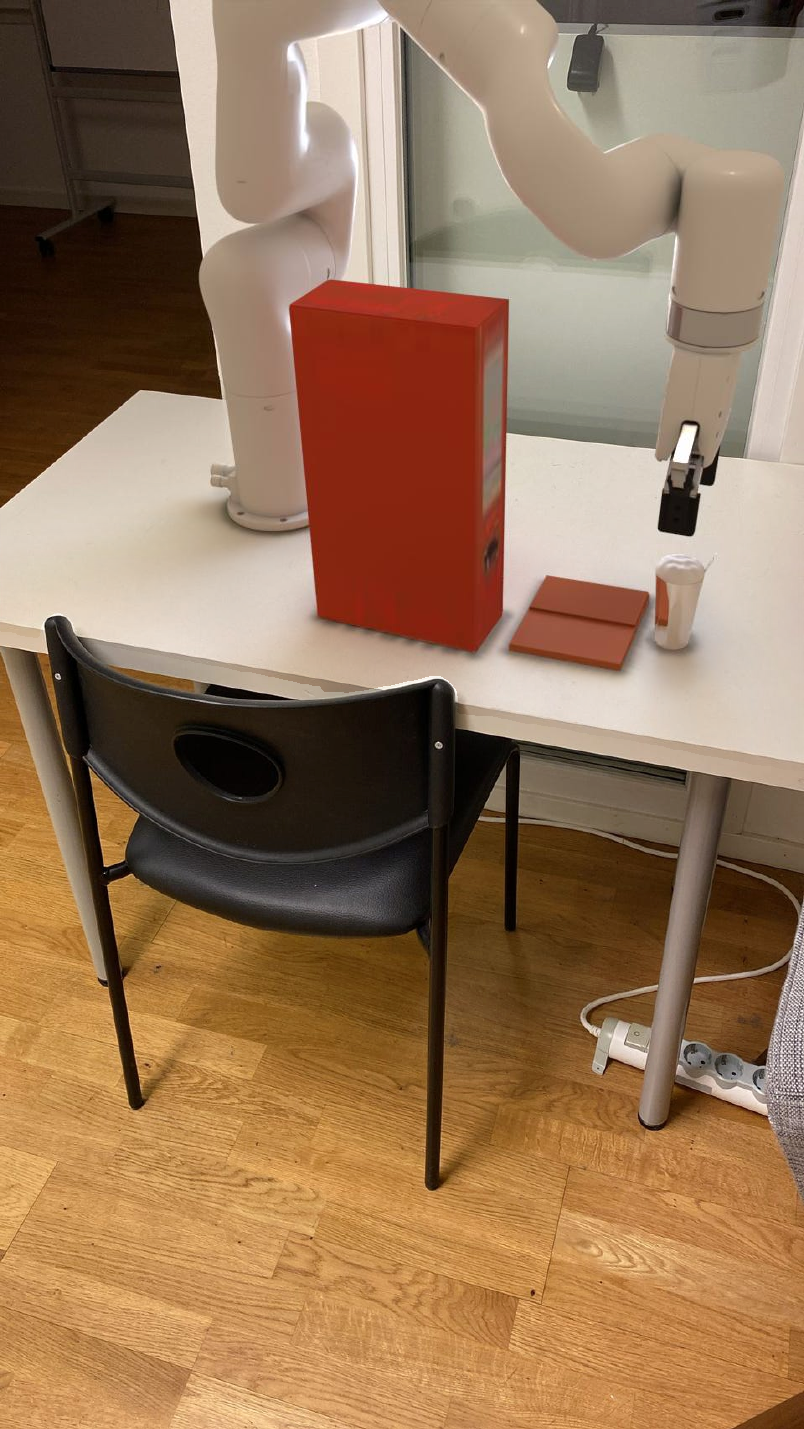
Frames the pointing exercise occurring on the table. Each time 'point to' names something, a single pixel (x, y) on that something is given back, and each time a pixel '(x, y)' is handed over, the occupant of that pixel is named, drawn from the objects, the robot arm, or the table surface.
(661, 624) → the milkshake
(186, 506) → the table surface
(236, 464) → the robot arm
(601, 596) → the cloth
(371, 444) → the file binder
